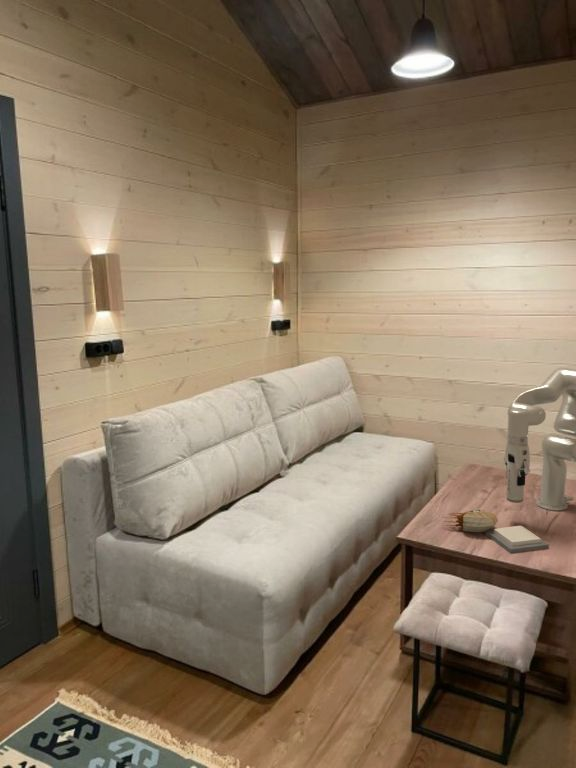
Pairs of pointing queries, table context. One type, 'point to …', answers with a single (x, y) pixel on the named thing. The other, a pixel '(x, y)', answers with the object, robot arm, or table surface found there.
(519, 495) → the travel mug
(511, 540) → the pedestal
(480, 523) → the nautilus shell
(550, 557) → the table surface
